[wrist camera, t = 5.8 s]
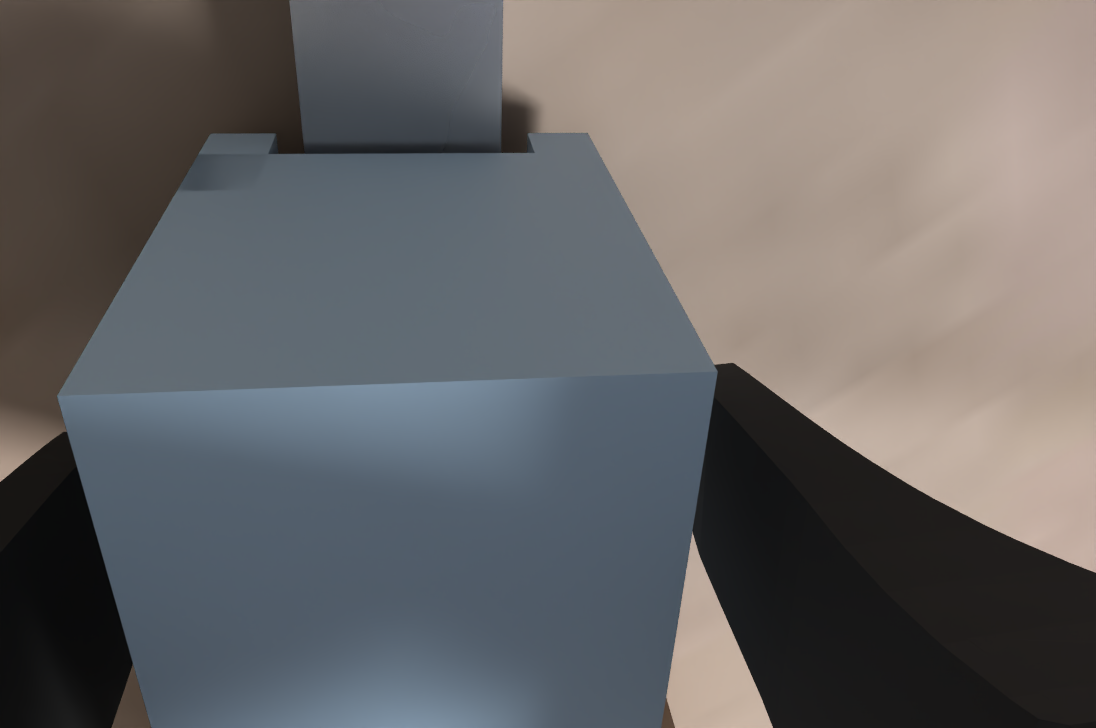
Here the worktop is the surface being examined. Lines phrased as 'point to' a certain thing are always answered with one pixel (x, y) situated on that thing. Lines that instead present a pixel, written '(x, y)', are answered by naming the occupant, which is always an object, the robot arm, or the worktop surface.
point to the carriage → (395, 443)
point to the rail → (399, 75)
